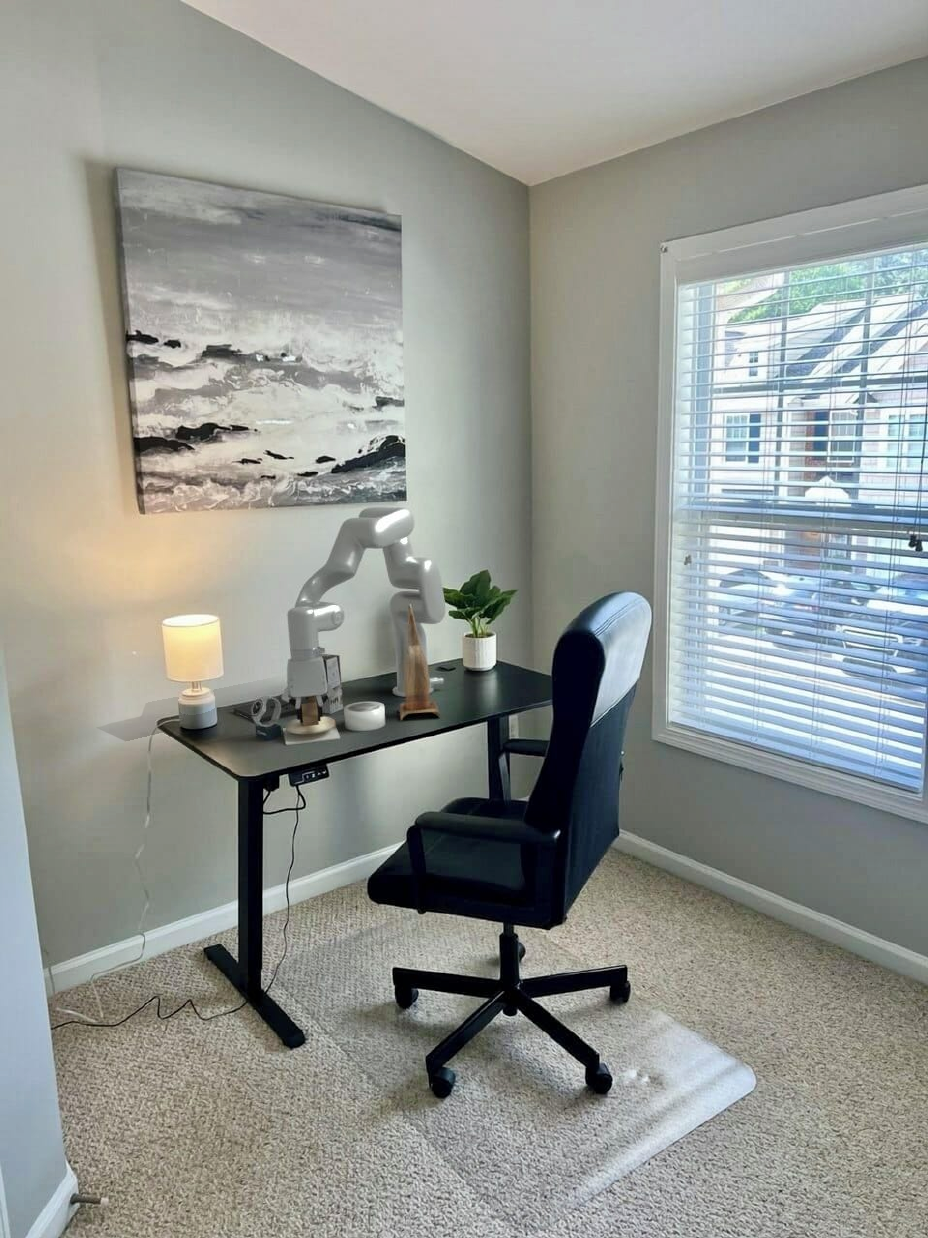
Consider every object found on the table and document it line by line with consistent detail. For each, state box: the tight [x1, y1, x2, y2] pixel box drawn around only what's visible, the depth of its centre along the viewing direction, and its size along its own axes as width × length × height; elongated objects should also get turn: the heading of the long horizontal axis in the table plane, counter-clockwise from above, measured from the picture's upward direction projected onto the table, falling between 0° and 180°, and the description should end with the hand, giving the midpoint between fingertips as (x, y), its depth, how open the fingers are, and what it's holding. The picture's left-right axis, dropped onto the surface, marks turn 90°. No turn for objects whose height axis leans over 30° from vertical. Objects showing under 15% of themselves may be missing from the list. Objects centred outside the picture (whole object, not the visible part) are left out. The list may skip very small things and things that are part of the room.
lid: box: [285, 699, 336, 734], centre depth 237 cm, size 13×13×7 cm
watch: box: [251, 695, 283, 742], centre depth 237 cm, size 6×8×11 cm
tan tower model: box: [398, 604, 441, 721], centre depth 250 cm, size 11×12×32 cm
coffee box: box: [306, 653, 344, 715], centre depth 259 cm, size 9×6×16 cm
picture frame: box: [233, 693, 306, 724], centre depth 263 cm, size 16×3×21 cm
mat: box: [282, 725, 341, 746], centre depth 238 cm, size 14×14×1 cm
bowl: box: [343, 701, 386, 732], centre depth 244 cm, size 11×11×5 cm
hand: (310, 720), depth 238 cm, fingers closed on lid, 4 cm apart
